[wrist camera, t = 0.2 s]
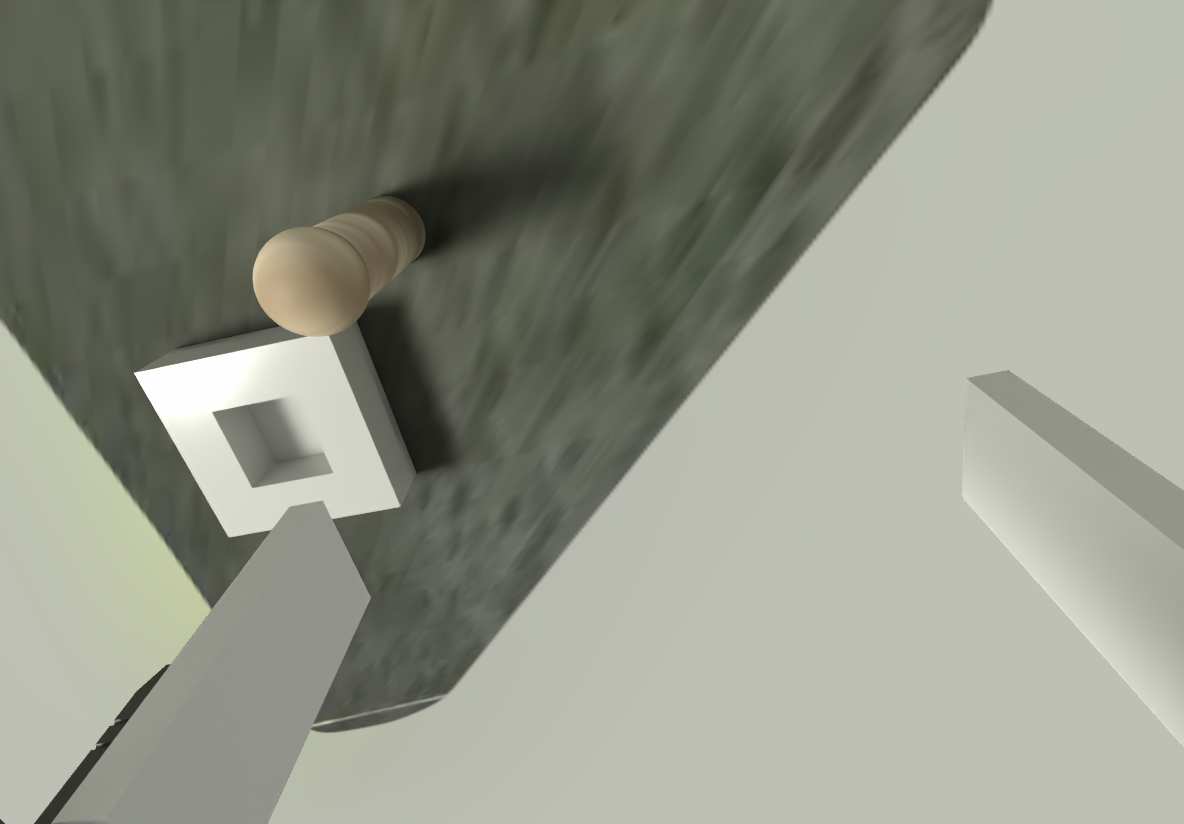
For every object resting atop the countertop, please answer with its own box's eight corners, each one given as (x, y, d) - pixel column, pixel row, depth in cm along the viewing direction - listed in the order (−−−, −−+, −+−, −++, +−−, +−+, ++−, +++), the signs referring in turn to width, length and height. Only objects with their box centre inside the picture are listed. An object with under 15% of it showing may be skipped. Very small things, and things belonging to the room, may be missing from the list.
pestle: (339, 200, 37) (209, 252, 25) (415, 182, 36) (321, 226, 24) (368, 278, 39) (261, 362, 27) (441, 262, 38) (366, 340, 26)
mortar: (175, 348, 41) (134, 373, 37) (352, 310, 40) (327, 332, 36) (257, 502, 46) (228, 537, 42) (416, 473, 45) (400, 506, 41)
